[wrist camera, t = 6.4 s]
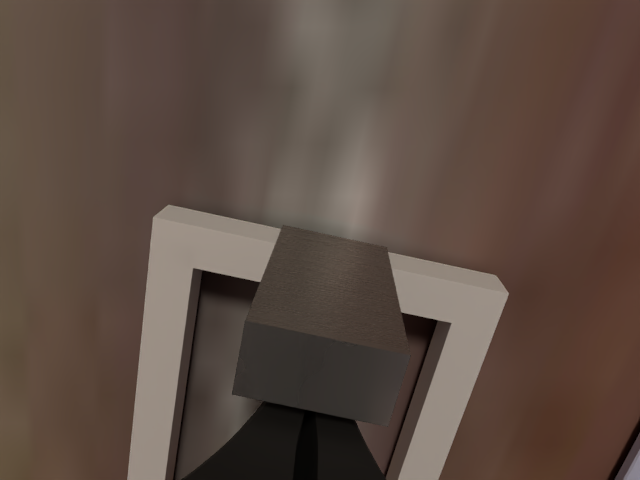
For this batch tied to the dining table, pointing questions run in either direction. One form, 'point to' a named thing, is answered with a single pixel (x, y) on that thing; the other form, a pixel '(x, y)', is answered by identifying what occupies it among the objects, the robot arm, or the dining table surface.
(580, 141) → the dining table surface
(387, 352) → the pull sled
